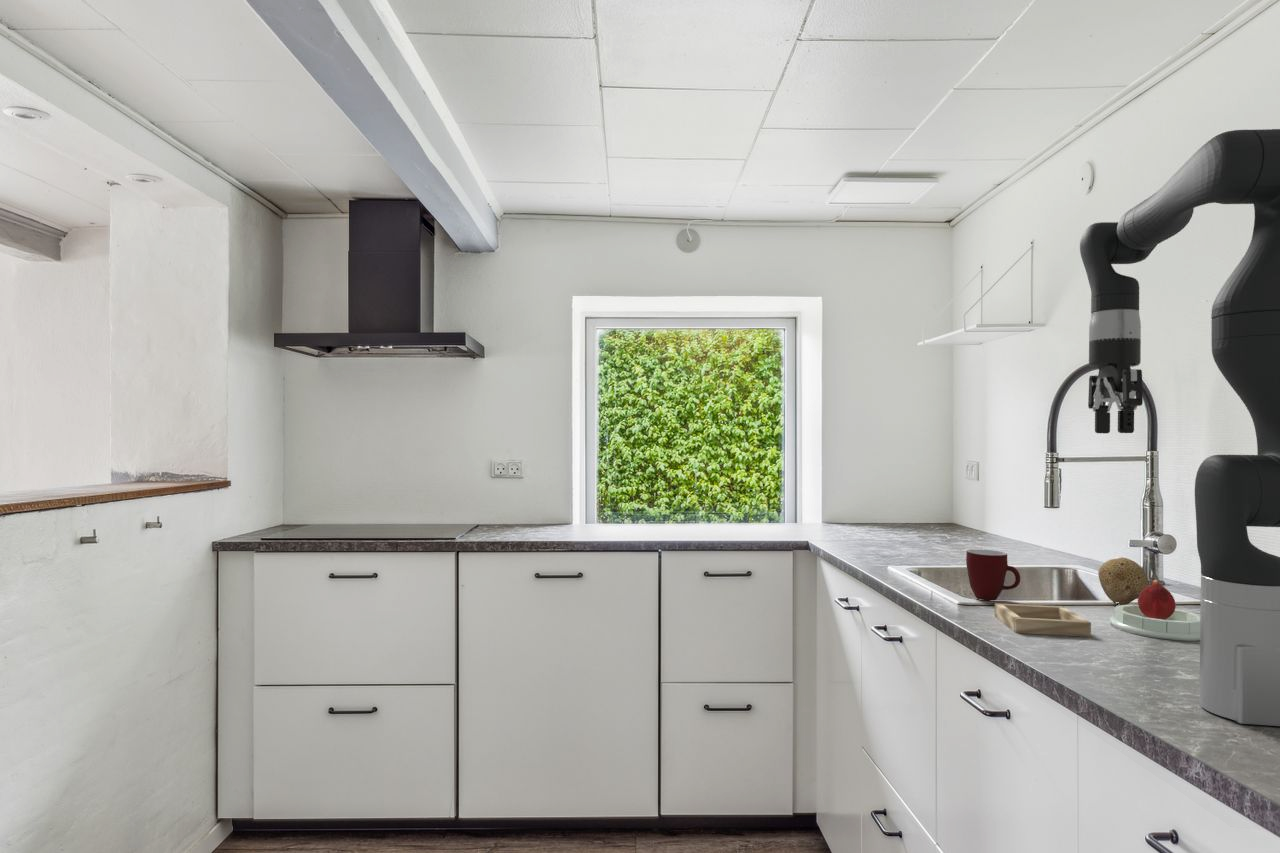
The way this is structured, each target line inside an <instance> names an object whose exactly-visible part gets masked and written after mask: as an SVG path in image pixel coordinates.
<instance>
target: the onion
mask: <svg viewBox="0 0 1280 853" xmlns="http://www.w3.org/2000/svg"><path fill="white" fill-rule="evenodd" d="M1137 605H1138V607H1139V609H1140V611H1141V612H1142V613H1143V614H1144V615H1145V616H1146V617H1148V618H1155V619H1162V620H1165V619H1167V618H1169V617H1170V616H1171V615H1172V614H1173V613H1174V611H1175V609H1177V608H1176V607H1177V606H1176V600H1175V598H1174V596H1173V594H1172V593H1171V592H1170V591H1169V589H1168V588H1166V587H1164V586H1163V585H1161V583H1160V581H1159V580H1157V579H1154V580H1153V581H1152V583H1151V584H1150V586H1148V587H1146V588H1145V589H1143V590H1142V591H1141V593H1140V594H1139V597H1138V599H1137Z"/></svg>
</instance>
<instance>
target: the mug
mask: <svg viewBox="0 0 1280 853" xmlns="http://www.w3.org/2000/svg"><path fill="white" fill-rule="evenodd" d="M965 560H966V561H965V562H966V569H967V576H968V581H969V587H970V589H971V591H972V592H973V595H974V597H975V598H976V599H978V600H981V601H989V602H990V601H991V602H992V601H997V599H998V597H999V596H1000V594H1001V592H1002V591H1003V590H1004V591H1005V590H1006V591H1007V590H1014V589H1015V588H1017V587H1018V586H1019V585H1020V583H1021V574H1020V572H1019V570H1017V568H1015V567H1014V566H1012V565H1008V562H1009V561H1008V554H1007V553H1006V552H1003V551H999V550H992V549H991V550H990V549H968V550H966V558H965ZM1007 571H1008V572H1012V573H1013V575H1014V582H1013V583H1012V584H1011V585H1005V580H1006V575H1007Z"/></svg>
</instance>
